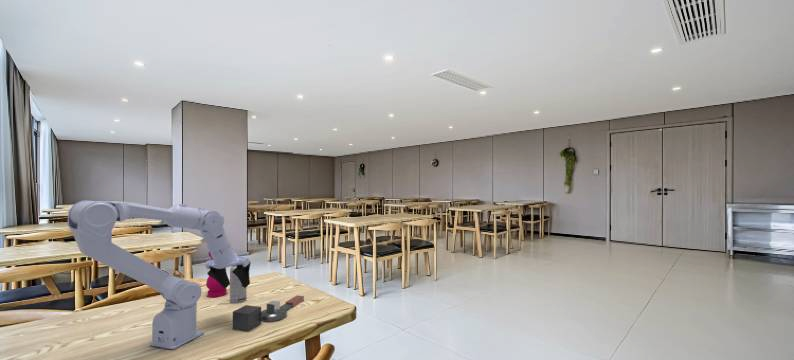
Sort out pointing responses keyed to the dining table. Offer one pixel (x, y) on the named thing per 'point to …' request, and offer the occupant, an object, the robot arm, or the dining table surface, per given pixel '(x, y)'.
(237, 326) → the dark grey brushed cube
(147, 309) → the dining table surface
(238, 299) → the energy drink
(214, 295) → the pepper mill
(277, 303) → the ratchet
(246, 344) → the dining table surface
